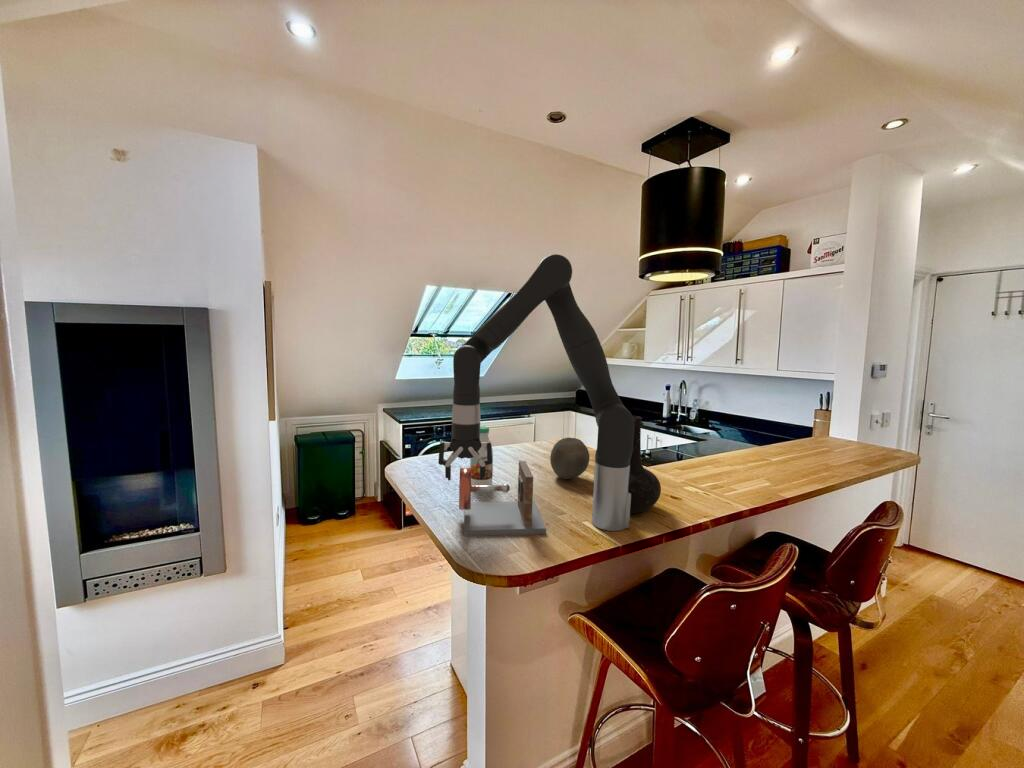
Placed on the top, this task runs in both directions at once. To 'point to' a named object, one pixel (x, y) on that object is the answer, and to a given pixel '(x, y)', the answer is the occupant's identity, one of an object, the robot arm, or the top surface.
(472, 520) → the base board
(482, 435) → the milk bottle
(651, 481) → the dark bulbous vase
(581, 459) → the dark brown ball
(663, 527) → the top surface
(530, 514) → the brown wooden panel
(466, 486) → the copper disc with rod
